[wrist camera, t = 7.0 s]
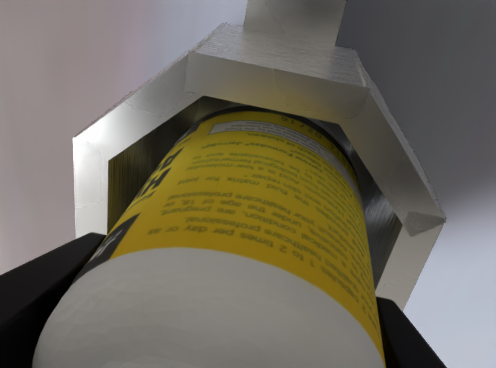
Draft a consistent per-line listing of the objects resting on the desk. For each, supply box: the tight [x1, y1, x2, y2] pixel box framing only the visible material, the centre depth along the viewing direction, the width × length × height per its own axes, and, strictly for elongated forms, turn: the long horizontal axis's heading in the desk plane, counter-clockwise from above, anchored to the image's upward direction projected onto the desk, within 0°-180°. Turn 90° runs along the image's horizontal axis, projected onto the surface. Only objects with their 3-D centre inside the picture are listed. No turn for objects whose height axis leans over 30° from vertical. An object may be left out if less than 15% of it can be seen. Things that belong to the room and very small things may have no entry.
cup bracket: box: [72, 0, 447, 311], centre depth 12 cm, size 8×11×4 cm
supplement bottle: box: [32, 103, 386, 368], centre depth 8 cm, size 5×5×10 cm
